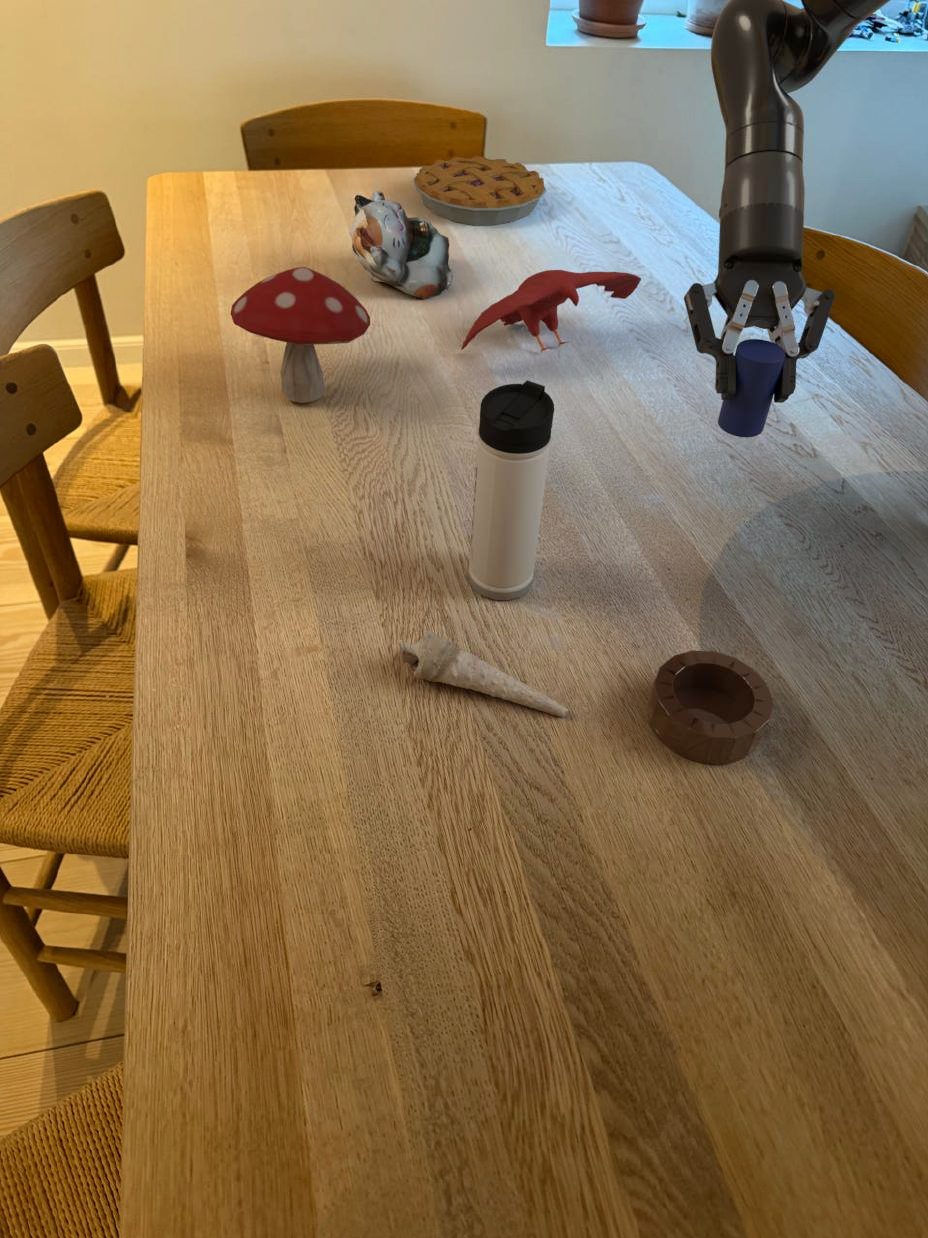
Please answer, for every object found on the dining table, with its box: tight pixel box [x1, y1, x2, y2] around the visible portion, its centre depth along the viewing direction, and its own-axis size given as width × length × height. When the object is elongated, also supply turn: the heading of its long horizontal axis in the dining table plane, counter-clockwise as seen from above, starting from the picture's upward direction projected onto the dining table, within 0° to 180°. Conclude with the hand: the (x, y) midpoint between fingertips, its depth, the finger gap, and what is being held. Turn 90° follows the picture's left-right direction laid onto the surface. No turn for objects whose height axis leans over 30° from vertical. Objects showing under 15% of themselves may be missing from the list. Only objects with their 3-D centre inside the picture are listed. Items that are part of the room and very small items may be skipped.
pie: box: [412, 155, 547, 226], centre depth 160 cm, size 22×22×5 cm
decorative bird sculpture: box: [460, 269, 642, 353], centre depth 125 cm, size 28×9×15 cm
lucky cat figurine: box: [349, 190, 454, 300], centre depth 135 cm, size 15×12×14 cm
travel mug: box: [467, 380, 555, 601], centre depth 86 cm, size 6×7×20 cm
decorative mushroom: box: [230, 266, 371, 404], centre depth 111 cm, size 16×16×15 cm
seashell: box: [397, 629, 569, 718], centre depth 81 cm, size 4×16×4 cm, turn 71°
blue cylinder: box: [717, 338, 785, 438], centre depth 90 cm, size 4×4×8 cm
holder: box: [647, 650, 774, 766], centre depth 80 cm, size 10×10×4 cm
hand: (755, 398), depth 89 cm, fingers closed on blue cylinder, 4 cm apart
